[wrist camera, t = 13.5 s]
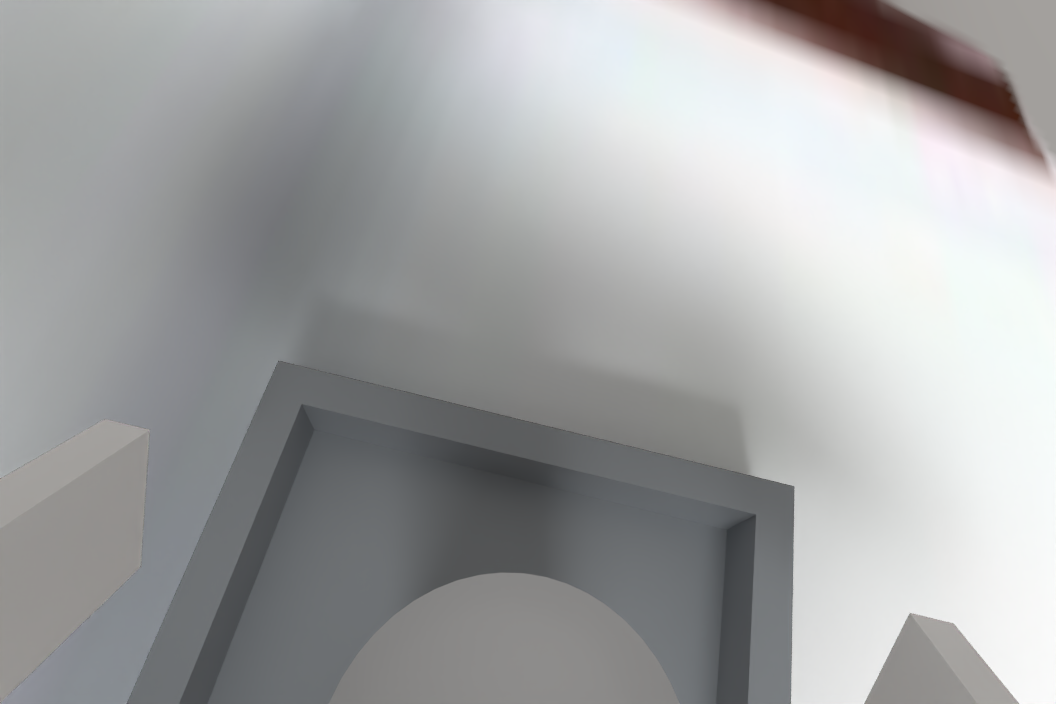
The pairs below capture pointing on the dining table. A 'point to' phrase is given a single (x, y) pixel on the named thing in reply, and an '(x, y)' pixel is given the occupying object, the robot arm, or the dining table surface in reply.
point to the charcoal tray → (464, 545)
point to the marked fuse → (505, 649)
